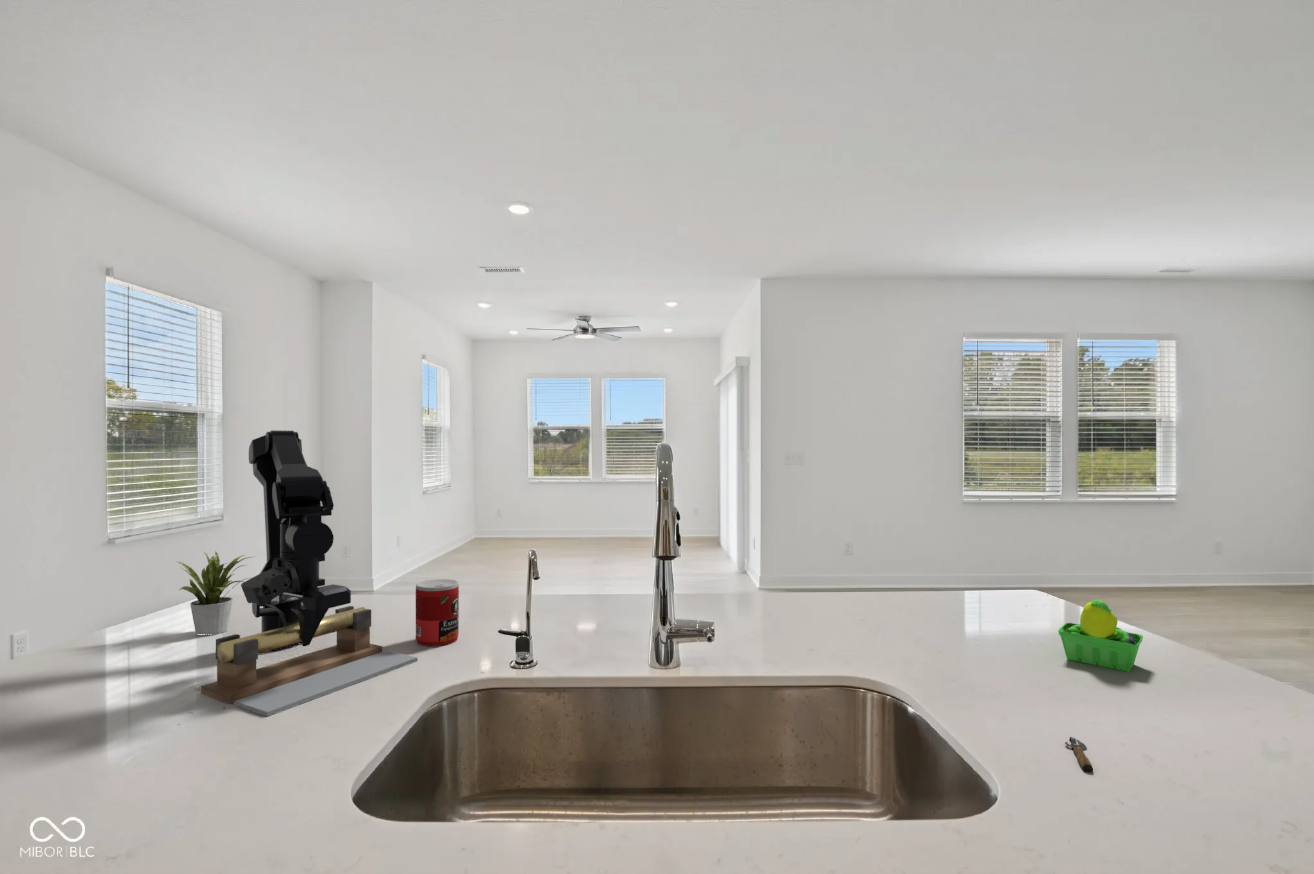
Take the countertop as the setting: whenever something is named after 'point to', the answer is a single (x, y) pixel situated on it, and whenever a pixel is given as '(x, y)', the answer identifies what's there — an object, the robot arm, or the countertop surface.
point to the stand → (287, 662)
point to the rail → (288, 634)
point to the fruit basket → (1100, 639)
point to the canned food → (437, 612)
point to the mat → (323, 683)
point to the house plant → (211, 596)
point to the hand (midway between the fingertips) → (299, 644)
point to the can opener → (1080, 754)
